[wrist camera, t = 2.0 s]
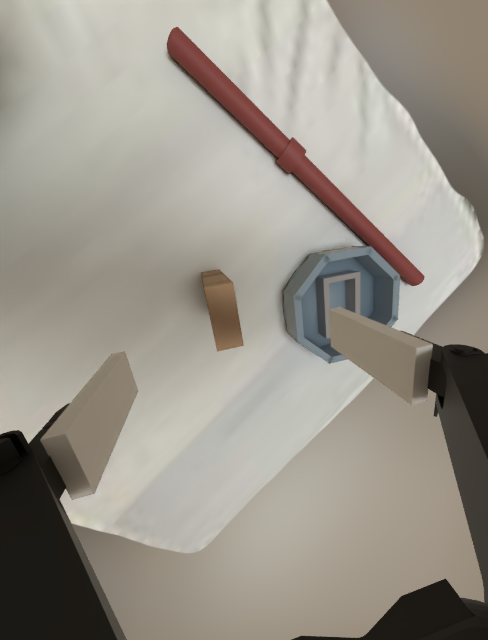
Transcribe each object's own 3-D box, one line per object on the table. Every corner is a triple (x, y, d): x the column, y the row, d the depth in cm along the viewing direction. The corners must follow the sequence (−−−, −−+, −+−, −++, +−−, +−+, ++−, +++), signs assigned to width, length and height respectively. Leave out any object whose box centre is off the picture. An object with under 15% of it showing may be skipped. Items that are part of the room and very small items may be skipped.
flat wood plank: (201, 272, 33) (204, 287, 20) (219, 269, 33) (232, 282, 20) (209, 312, 35) (217, 351, 22) (226, 309, 35) (243, 345, 22)
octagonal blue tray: (277, 258, 35) (289, 260, 30) (376, 241, 37) (402, 240, 32) (287, 356, 40) (299, 371, 35) (374, 336, 42) (396, 347, 37)
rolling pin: (165, 64, 26) (161, 41, 23) (180, 37, 26) (178, 10, 23) (403, 287, 40) (419, 290, 37) (415, 271, 40) (433, 273, 37)
